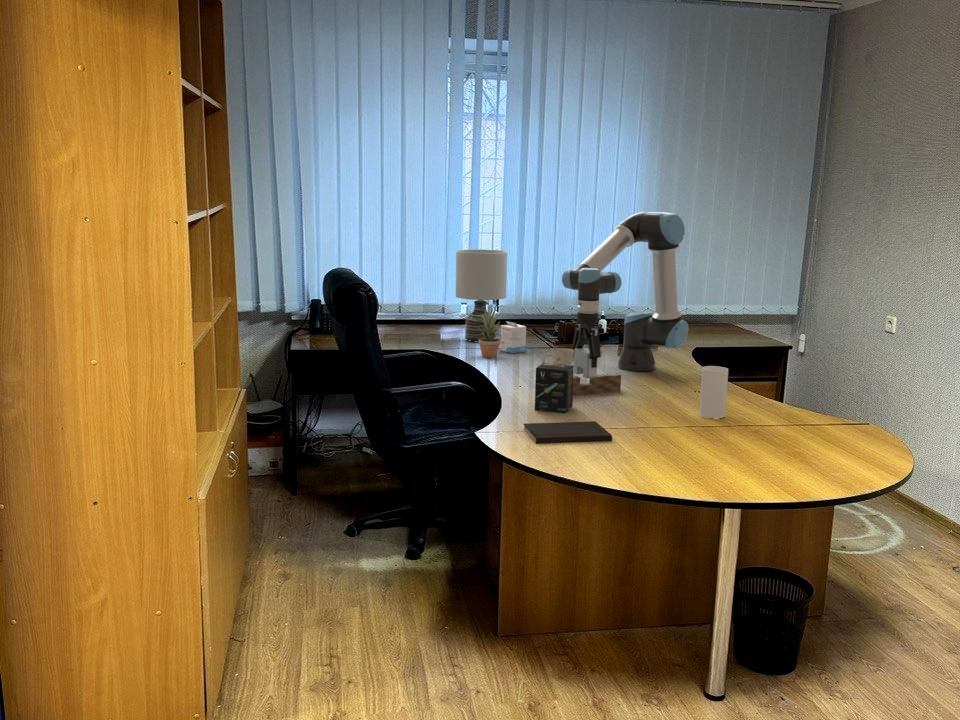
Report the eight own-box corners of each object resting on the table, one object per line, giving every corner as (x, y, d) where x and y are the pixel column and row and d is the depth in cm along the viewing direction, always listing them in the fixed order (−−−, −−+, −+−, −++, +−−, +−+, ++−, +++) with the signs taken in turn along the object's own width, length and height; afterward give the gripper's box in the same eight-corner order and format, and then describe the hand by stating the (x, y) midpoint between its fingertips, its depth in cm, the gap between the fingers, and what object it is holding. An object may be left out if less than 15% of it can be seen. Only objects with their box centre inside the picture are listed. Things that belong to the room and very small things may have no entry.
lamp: (505, 345, 413) (507, 253, 404) (453, 343, 413) (455, 252, 405) (504, 336, 436) (506, 249, 428) (455, 335, 436) (457, 248, 428)
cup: (710, 420, 285) (714, 371, 282) (693, 414, 292) (697, 367, 289) (730, 417, 289) (733, 369, 286) (712, 411, 296) (716, 365, 293)
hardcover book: (523, 430, 271) (523, 423, 271) (595, 428, 275) (595, 421, 275) (535, 445, 256) (536, 437, 255) (612, 442, 260) (612, 435, 259)
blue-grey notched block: (583, 372, 324) (584, 347, 322) (596, 377, 315) (597, 352, 313) (573, 372, 323) (574, 348, 321) (586, 378, 313) (587, 353, 312)
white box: (526, 352, 396) (527, 322, 394) (511, 353, 392) (512, 323, 389) (514, 348, 403) (515, 319, 401) (499, 350, 399) (500, 321, 396)
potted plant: (495, 353, 391) (497, 298, 386) (503, 357, 382) (504, 300, 377) (474, 354, 388) (475, 298, 383) (481, 358, 379) (482, 301, 374)
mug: (571, 377, 345) (572, 352, 343) (539, 375, 347) (540, 350, 345) (573, 373, 353) (574, 348, 351) (542, 371, 355) (543, 347, 353)
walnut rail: (616, 389, 326) (617, 373, 325) (620, 391, 324) (621, 375, 323) (547, 394, 316) (548, 377, 315) (551, 396, 314) (551, 379, 313)
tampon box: (572, 407, 299) (574, 364, 296) (566, 413, 290) (568, 370, 287) (541, 404, 302) (542, 362, 299) (534, 410, 294) (535, 367, 291)
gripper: (564, 308, 323) (561, 367, 328) (593, 316, 303) (590, 380, 307) (582, 307, 326) (579, 366, 330) (612, 316, 305) (609, 379, 310)
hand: (585, 373), depth 319 cm, fingers closed on blue-grey notched block, 10 cm apart
